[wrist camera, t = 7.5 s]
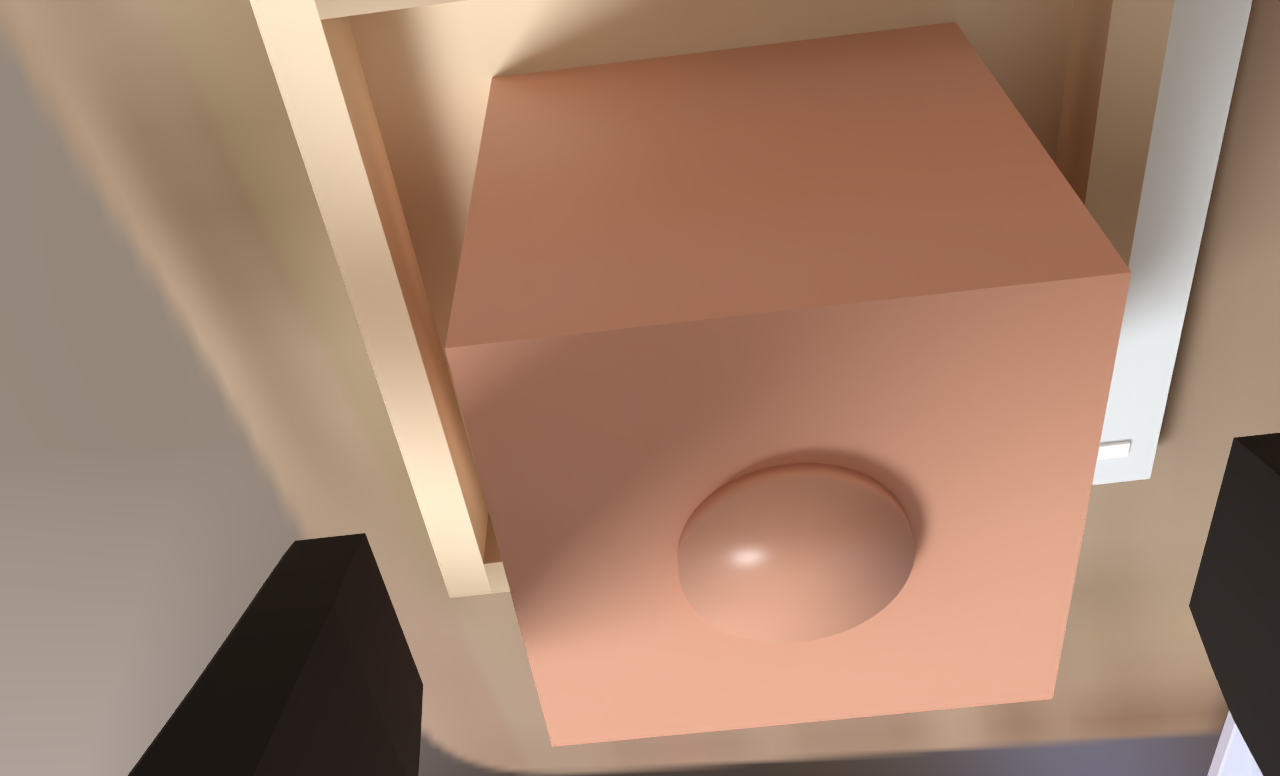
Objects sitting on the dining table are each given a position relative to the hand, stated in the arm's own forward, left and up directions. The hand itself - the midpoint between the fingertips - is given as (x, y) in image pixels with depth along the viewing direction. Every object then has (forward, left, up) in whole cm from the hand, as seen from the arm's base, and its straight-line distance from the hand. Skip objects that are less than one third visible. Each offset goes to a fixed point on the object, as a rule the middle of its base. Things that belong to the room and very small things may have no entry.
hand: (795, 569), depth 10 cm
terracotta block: (0, 0, -5) cm, 5 cm away
